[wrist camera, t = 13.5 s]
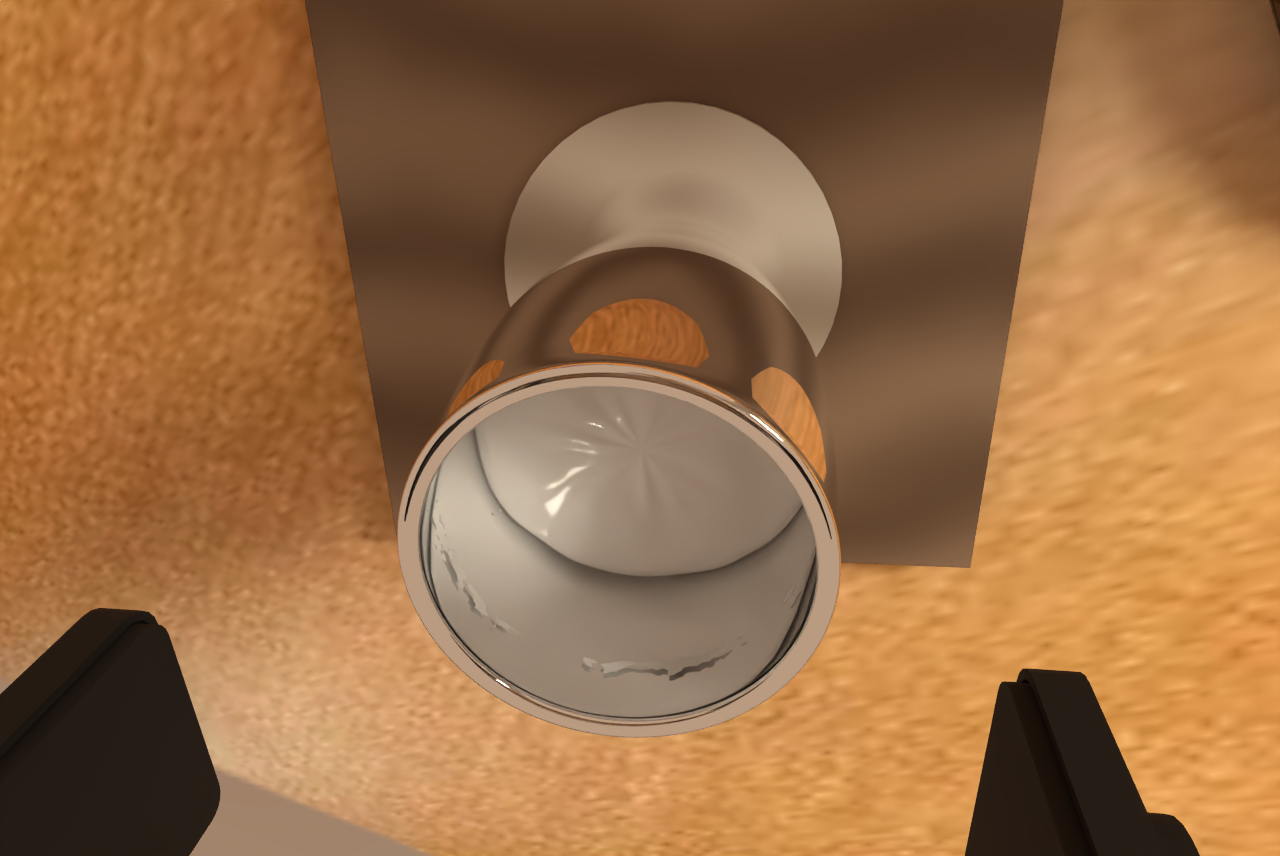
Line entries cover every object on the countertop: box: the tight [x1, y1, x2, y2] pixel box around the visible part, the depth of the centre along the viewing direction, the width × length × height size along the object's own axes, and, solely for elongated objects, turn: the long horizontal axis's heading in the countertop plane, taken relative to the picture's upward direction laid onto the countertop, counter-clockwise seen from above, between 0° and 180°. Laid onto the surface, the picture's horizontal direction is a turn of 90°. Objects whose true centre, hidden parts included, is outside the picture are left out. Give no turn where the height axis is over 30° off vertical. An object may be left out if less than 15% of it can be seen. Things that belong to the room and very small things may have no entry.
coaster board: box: [305, 0, 1063, 568], centre depth 27 cm, size 20×20×2 cm
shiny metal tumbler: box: [397, 172, 841, 738], centre depth 20 cm, size 7×7×15 cm
